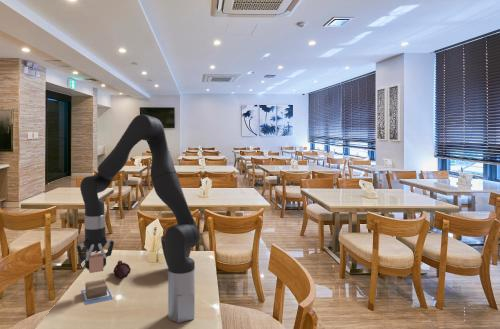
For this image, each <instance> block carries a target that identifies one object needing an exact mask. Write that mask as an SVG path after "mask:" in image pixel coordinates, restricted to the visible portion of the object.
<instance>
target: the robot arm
mask: <svg viewBox="0 0 500 329" xmlns="http://www.w3.org/2000/svg"><path fill="white" fill-rule="evenodd" d="M166 136H167V135H166V133H165V127H164V125H163V123H162V121H161V120H160V119H159V118H156V117H154V116H151V115H148V114H138V115H136V116H135V117H134V118H132V120H131V122H130V123H129V124H128V126H127V128H126V129H125V131H124V132H123V134H122V135H121V137H120V139H119V140H118V142H117V143H116V145H115V147H114V148H113V149H112V150H111V152H109V154H108V155H106V157H104V159H103V160H102V162H100V164H99V165H98V167H97V173H95V175H89V176H86V177H84V178H83V179H82V180H81V182H80V186H79V187H80V190H79V191H80V193H81V197H82V200H83V203H84V224H83V226H84V241H83V243H77V244H76V245H75V246H76V250H77V252H78V256H79V259H80V261H84V267H85V269H87V271H89V257H90V255H91V254H93V253H96V252H101V254H102V255H103V268H105V266H107V258H108V257H111V255H112V253H113V248H114V244H115V242H114V240H113V239H110V240H109V239H107V237H106V236H107V235H106V233H107V232H106V216H105V201H104V200H103V199H101V198H99V195H98V194H99V193H102V192H104V191H105V190H107V189H108V187H109V186H110V185H111V183H112V181H113V180H114V178H115V177H116V176H117V174H119V173H120V171H122V169H123V168H124V167H125V166H126V164H127V162H128V159H129V156H130V153H131V152H132V149H133V148H134V147H135V146H136V145H137V144H138V143H139V142H140V141H146V143H147V145H148V148H149V150H150V155H151V164H150V172H149V173H150V179H151V183H152V186H153V188H154V191H155V194H156V196H158V198H159V199H160V200H161V201H162V203H164V204H165V205H166V206H167V207H168V208H169V209H170V210H171V212H172V213H173V216H174V217H175V219H176V222H177V223H176V224H175V225H172V226H169V227H168V228H167V229H166V231H165V234H164V235H165V251H166V260H165V262H166V261H167V263H166V265H167V264H168V266H167V282H168V283H167V285H168V286H167V303H168V304H167V307H168V308H167V309H168V310H167V311H168V313H167V314H168V316H167V317H168V319H169V320H170V321H172V322H176V323H177V324H181V323H184V322H187V321H188V322H189V321H191V320H194V319H195V308H196V307H195V305H196V304H195V292H196V291H195V289H196V288H195V286H196V285H195V282H196V281H195V280H196V279H195V278H196V276H195V275H196V274H195V272H196V271H195V270H196V265H195V260H194V259H193V258H191V257H190V256H189V257H185V250H186V249H189V248H191V249H192V248H194V247H197V246H198V244H199V242H200V232H199V228H198V225H197V223H196V220H195V219H194V216H193V215H192V212H191V209H190V207H189V205H188V202H187V200H186V198H185V197H186V196H185V194H184V191H183V189H182V186H181V182H180V179H179V176H178V174H177V171H176V168H175V165H174V162H173V159H172V155H171V153H170V149H169V147H168V142H167V137H166ZM106 244H107V246H108V247H107V251H106V252H105V250H104V248H105V246H106ZM84 247H85V248H86V253H85V254H83V252H82V250H83V249H84Z"/></svg>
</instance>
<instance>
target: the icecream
mask: <svg viewBox="0 0 500 329" xmlns="http://www.w3.org/2000/svg"><path fill="white" fill-rule="evenodd" d="M131 271H132V269H131V267H130V265H129V264H128V263H126V262H123V260H118V261H117V263H116V265H115V266H114V268H113V274H114V277H115V278H118V279H119V278H120V279H121V278H125V277H128V276H129V275H130V273H131Z"/></svg>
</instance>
